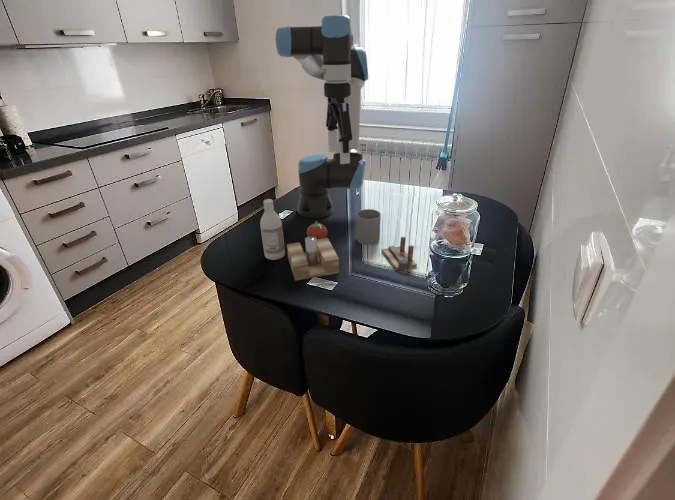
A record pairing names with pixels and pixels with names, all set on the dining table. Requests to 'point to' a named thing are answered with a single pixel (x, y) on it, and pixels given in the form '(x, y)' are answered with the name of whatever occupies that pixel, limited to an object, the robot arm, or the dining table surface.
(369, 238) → the cup
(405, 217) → the dining table surface
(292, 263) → the slot block
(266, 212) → the bath foam
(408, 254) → the peg rack
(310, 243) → the pin
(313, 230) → the tomato
